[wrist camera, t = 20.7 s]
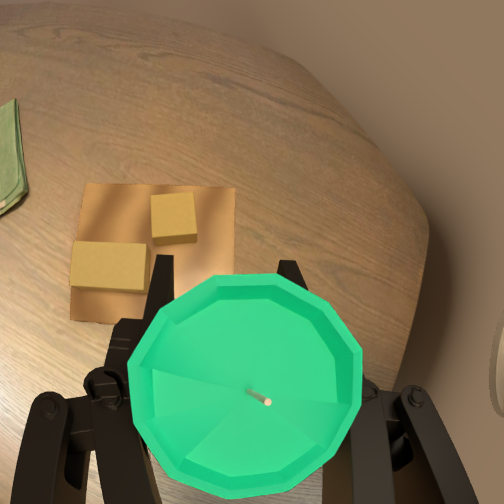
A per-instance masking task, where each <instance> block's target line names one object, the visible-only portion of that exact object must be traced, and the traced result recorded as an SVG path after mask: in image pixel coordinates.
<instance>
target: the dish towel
mask: <svg viewBox="0 0 504 504" xmlns="http://www.w3.org/2000/svg"><path fill="white" fill-rule="evenodd" d="M27 192H28V189H27V182H26V173H25V166H24V160H23V150H22V144H21V134H20V124H19V115H18V103H17V99H16V98H15V99H13V100H11V101H9V102H8V103H6V104H5V105H3V106H2V107H1V108H0V215H1V214H3V213H4V212H5V211H7V210H8V209H9V208H10V207H12V206H13V205H14V204H15V203H17V202H18V201H19V200H20V199H21V197H22V196H24V195H25V194H26V193H27Z"/></svg>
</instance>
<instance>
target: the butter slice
mask: <svg viewBox="0 0 504 504" xmlns="http://www.w3.org/2000/svg"><path fill="white" fill-rule="evenodd" d="M150 205H151V230H152V238H153V241H154V243H155V245H156V246H163V245H173V244H184V243H195V242H197V222H196V211H195V199H194V192H183V193H171V194H160V195H151V196H150Z"/></svg>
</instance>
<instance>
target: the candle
mask: <svg viewBox="0 0 504 504" xmlns="http://www.w3.org/2000/svg"><path fill="white" fill-rule="evenodd" d="M362 357H363V350H362V348H361V347H360V345H359V344H358V342H357V341H356V340H355V338H354V337H353V335H352V334H351V333H350V331H349V330H348V328H347V327H346V326H345V324H344V323H343V321H342V320H341V319H340V317H339V316H338V315H337V313H336V312H335V310H334V309H333V308H332V306H331V305H330V303H329V302H327V301H326V300H324V299H322V298H320V297H318V296H317V295H315V294H313V293H311V292H309V291H307V290H306V289H304V288H302V287H300V286H298V285H297V284H295V283H293V282H291V281H289V280H288V279H286V278H284V277H282V276H280V275H279V274H236V275H213V276H211V277H210V278H208V279H207V280H205V281H203V282H202V283H200V284H199V285H197V286H195V287H194V288H192V289H191V290H189V291H188V292H186V293H184V294H183V295H181V296H180V297H178V298H176V299H175V300H173V301H172V302H170V303H168V304H167V305H165V306H164V307H162V308H161V309H160V310H159V311H158V313H157V314H156V316H155V318H154V319H153V321H152V322H151V324H150V326H149V327H148V329H147V331H146V332H145V334H144V335H143V337H142V339H141V340H140V342H139V344H138V345H137V347H136V349H135V350H134V352H133V354H132V355H131V357H130V359H129V360H128V362H127V366H128V378H129V389H130V399H131V408H132V416H133V424H134V425H135V427H136V429H137V430H138V432H139V433H140V435H141V437H142V438H143V440H144V441H145V443H146V444H147V446H148V447H149V449H150V450H151V452H152V453H153V455H154V456H155V458H156V459H157V461H158V462H159V464H160V465H161V467H162V468H163V469H164V471H165V472H166V473H167V475H168V476H169V477H170V478H172V479H174V480H177V481H179V482H181V483H184V484H186V485H189V486H191V487H194V488H197V489H199V490H202V491H205V492H207V493H210V494H213V495H216V496H219V497H222V498H225V499H238V498H247V497H255V496H262V495H269V494H275V493H281V492H286V491H289V490H291V489H292V488H294V487H295V486H296V485H298V484H299V483H300V482H302V481H303V480H304V479H306V478H307V477H308V476H310V475H311V474H312V473H313V472H315V471H316V470H317V469H318V468H320V467H321V466H322V465H323V464H325V463H326V462H327V461H328V460H329V459H331V458H332V457H333V456H334V455H335V453H336V452H337V450H338V448H339V446H340V445H341V443H342V441H343V439H344V437H345V436H346V434H347V432H348V430H349V428H350V426H351V424H352V423H353V421H354V419H355V417H356V415H357V413H358V411H359V409H360V407H361V399H362Z"/></svg>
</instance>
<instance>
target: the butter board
mask: <svg viewBox="0 0 504 504" xmlns="http://www.w3.org/2000/svg"><path fill="white" fill-rule="evenodd" d="M183 192H194V199H195V211H196V222H197V242H195V243H184V244H173V245H163V246H156V245H155V243H154V241H153V238H152V230H151V205H150V196H151V195H160V194H171V193H183ZM76 241H88V242H114V243H140V244H147V246H148V248H149V250H150V252H151V256H150V273H149V286H150V281H151V277H152V273H153V268H154V264H155V260H156V256H157V254H164V255H174V300H175V299H176V298H178V297H180V296H181V295H183V294H184V293H186V292H188V291H189V290H191V289H192V288H194V287H195V286H197V285H199V284H200V283H202V282H203V281H205V280H207V279H208V278H210V277H211V276H213V275H234V249H235V188H221V187H204V186H182V185H153V184H86V185H85V190H84V195H83V201H82V206H81V212H80V218H79V224H78V231H77V238H76ZM147 295H148V294H142V293H124V292H108V291H93V290H80V289H78V288H75V287H72V286H71V302H70V320H75V321H85V322H96V323H107V324H117V323H118V321H119V320H120V319H121V318H132V319H143V314H144V309H145V304H146V300H147Z"/></svg>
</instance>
